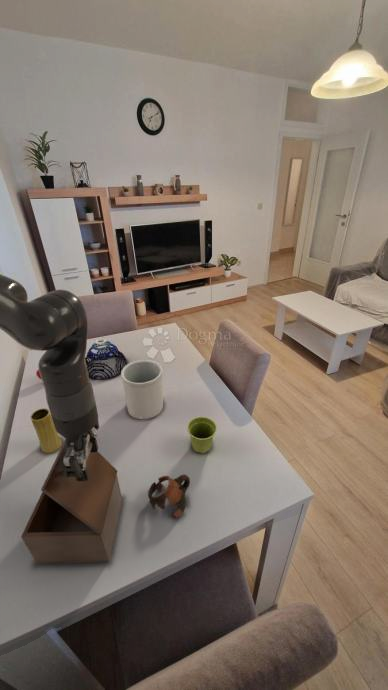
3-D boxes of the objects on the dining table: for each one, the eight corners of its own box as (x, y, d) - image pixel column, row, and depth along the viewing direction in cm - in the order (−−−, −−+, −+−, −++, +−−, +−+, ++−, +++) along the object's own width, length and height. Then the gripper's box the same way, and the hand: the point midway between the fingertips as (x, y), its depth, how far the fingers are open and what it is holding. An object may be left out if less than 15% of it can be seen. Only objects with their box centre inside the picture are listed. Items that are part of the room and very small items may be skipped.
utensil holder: (172, 403, 110) (170, 367, 101) (147, 427, 99) (142, 388, 90) (144, 390, 117) (140, 355, 108) (118, 411, 106) (111, 374, 97)
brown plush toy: (170, 530, 70) (153, 508, 68) (155, 512, 78) (139, 492, 76) (203, 492, 75) (188, 471, 73) (185, 479, 83) (171, 459, 81)
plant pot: (221, 450, 90) (222, 431, 86) (196, 462, 86) (196, 443, 82) (206, 431, 98) (206, 413, 93) (182, 441, 93) (182, 423, 89)
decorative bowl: (92, 355, 141) (86, 330, 134) (131, 356, 140) (127, 331, 133) (76, 379, 124) (69, 351, 116) (120, 380, 123) (116, 352, 116)
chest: (36, 563, 63) (20, 536, 57) (62, 500, 76) (51, 473, 70) (109, 561, 64) (100, 535, 58) (122, 499, 76) (116, 472, 70)
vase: (37, 452, 90) (24, 420, 83) (49, 437, 95) (37, 406, 88) (54, 454, 89) (42, 422, 82) (65, 439, 94) (55, 408, 87)
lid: (40, 490, 50) (65, 481, 48) (70, 428, 62) (90, 420, 61) (99, 534, 58) (121, 527, 56) (115, 471, 70) (133, 465, 69)
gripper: (66, 378, 55) (81, 437, 64) (31, 435, 43) (55, 498, 51) (104, 379, 55) (114, 437, 64) (80, 435, 43) (96, 498, 51)
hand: (88, 464), depth 57 cm, fingers closed on lid, 6 cm apart
